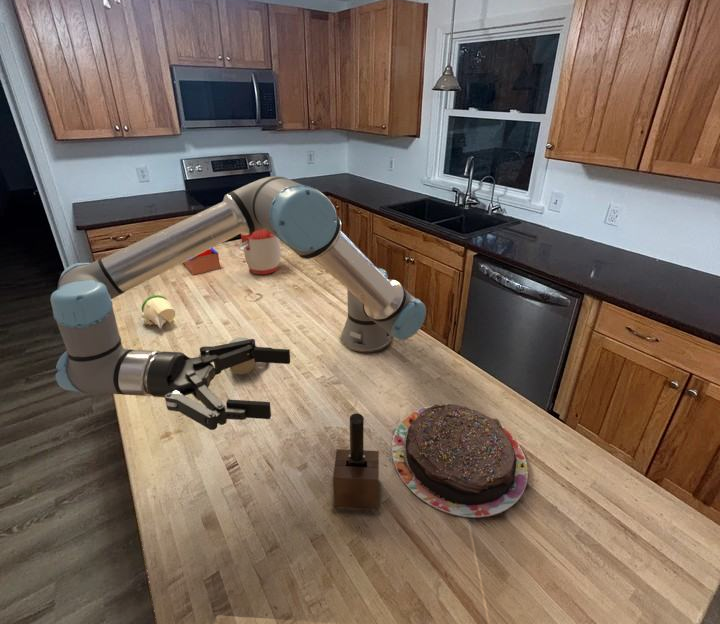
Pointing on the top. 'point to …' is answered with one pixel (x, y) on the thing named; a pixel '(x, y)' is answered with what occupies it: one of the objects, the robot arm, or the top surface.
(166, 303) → the cartoon head
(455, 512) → the chocolate cake
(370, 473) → the knife block
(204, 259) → the house
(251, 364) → the ceramic mug
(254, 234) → the citrus juicer
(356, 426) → the knife
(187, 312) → the top surface
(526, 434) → the top surface
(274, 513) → the top surface
